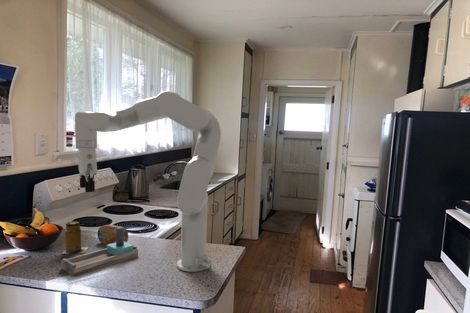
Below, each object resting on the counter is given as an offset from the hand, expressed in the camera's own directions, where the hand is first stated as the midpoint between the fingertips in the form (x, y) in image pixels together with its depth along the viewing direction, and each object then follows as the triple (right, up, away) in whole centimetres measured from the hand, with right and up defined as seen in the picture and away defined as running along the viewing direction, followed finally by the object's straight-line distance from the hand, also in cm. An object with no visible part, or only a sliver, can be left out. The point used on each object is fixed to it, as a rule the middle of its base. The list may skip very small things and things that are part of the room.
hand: (87, 189), depth 135 cm
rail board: (+5, -28, +2) cm, 29 cm away
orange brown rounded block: (+2, -27, +22) cm, 35 cm away
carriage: (+10, -26, +8) cm, 29 cm away
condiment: (-10, -27, +13) cm, 32 cm away
